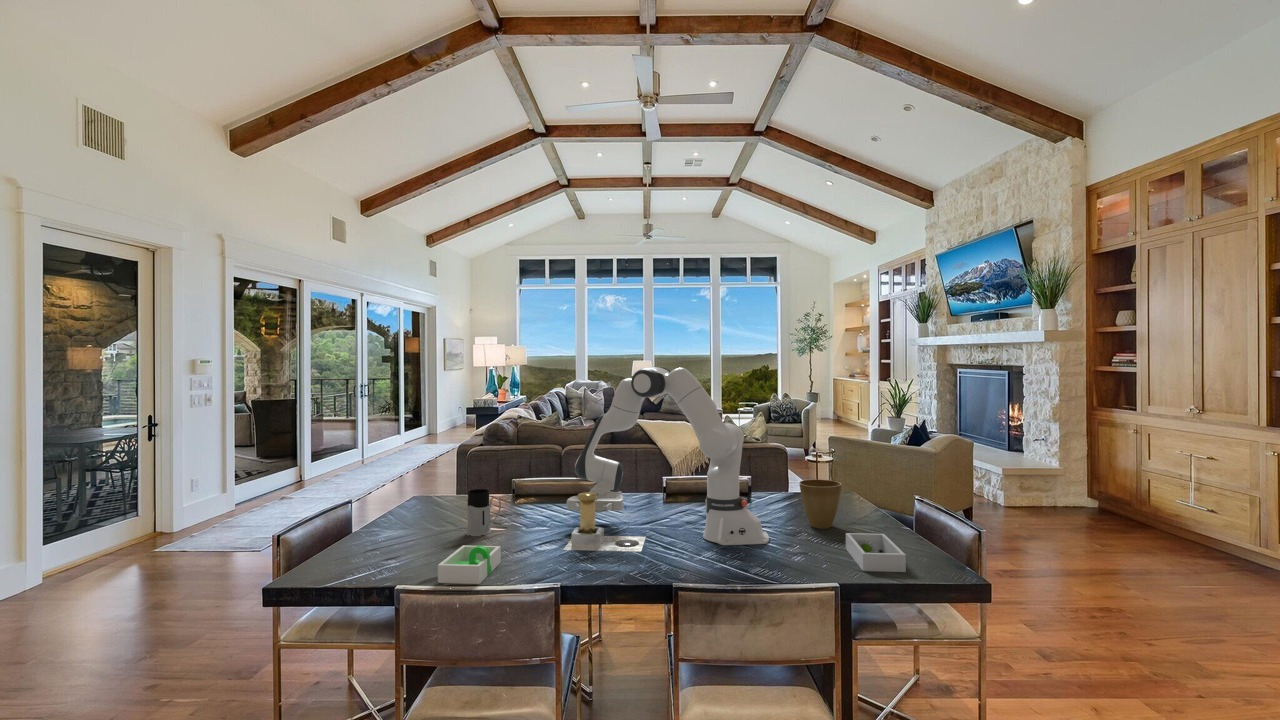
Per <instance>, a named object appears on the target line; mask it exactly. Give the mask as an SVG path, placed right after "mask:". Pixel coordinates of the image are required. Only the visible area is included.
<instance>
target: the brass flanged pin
mask: <svg viewBox="0 0 1280 720" xmlns="http://www.w3.org/2000/svg"><path fill="white" fill-rule="evenodd" d="M577 496H578V500H580V511H579V513H580V514H579V520H580V521H579V525H580V526H579V527H580V533H595V527H596V512H595V500H597V493H593V492H590V491H586V492H580V493H577Z"/></svg>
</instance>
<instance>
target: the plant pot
mask: <svg viewBox="0 0 1280 720" xmlns="http://www.w3.org/2000/svg"><path fill="white" fill-rule="evenodd" d="M798 482H799V490H800V495H801V501H802V504H803V507H804V512H805V514H806V518H807V520H808V523H809V525H810V527H812V528H815V529H820V530H821V529H830V527H831V528H832V526H833V524H834V521H835V517H836V514H837V512H838V507H839V503H840V499H841V498H840V497H841V491H842V482H839V481H836V480H830V479H817V478H815V479H803V480H801V481H798Z"/></svg>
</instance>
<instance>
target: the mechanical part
mask: <svg viewBox="0 0 1280 720" xmlns="http://www.w3.org/2000/svg"><path fill="white" fill-rule="evenodd" d="M475 546H476V547H475V548H474V549H473V550H472V551H471V552H470V554H469V561H462V562H457V563H456V564H464V565H478V564H479V563H480V562H481V561H482V560H481V561H480V560H478V559H477V558H476V553H480V554H482V556H483V559H487V575H488V576H489V575H490V574H491V573H492V572H491V565H490V553H489V550H488V549H487V548H486V547H484V546H485V545H475ZM490 572H491V573H490Z"/></svg>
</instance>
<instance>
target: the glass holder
mask: <svg viewBox="0 0 1280 720" xmlns="http://www.w3.org/2000/svg"><path fill="white" fill-rule="evenodd" d="M494 499H497V500H498V512H497V514H496V516H495V517H494V519H493V520H492V521H491V507H492V506H493V504H492V502H493V500H494ZM466 505H467V507H466V509H467V513H466V514H467V530H466V533H467V534H466V535H467V536H469V535H471V536H470V537H482V536H481V535H484V536H487V534H488V535H490V534H491V533H492V530H491V525H492V523H494V522H495V521H496V520H497V518H499V515H500V513H501V508H502V507H501V506H502V502H501V498H499V497H498V496H496V495H495V496H492V497H491V498H490V490H489V489H486V488H476V489H471V490H468V491H467V502H466ZM490 532H491V533H490ZM489 533H490V534H489Z"/></svg>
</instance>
